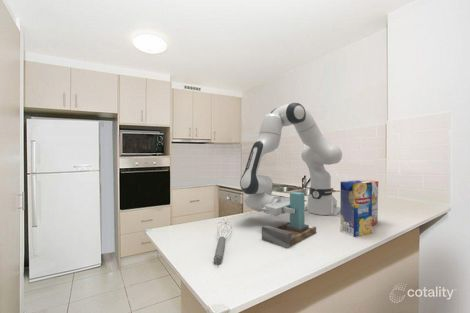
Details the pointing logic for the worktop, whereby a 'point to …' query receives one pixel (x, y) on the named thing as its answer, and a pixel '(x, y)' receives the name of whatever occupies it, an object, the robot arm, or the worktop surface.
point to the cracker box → (374, 201)
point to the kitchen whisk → (220, 246)
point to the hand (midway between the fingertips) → (299, 209)
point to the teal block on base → (297, 212)
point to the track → (285, 235)
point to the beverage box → (356, 208)
